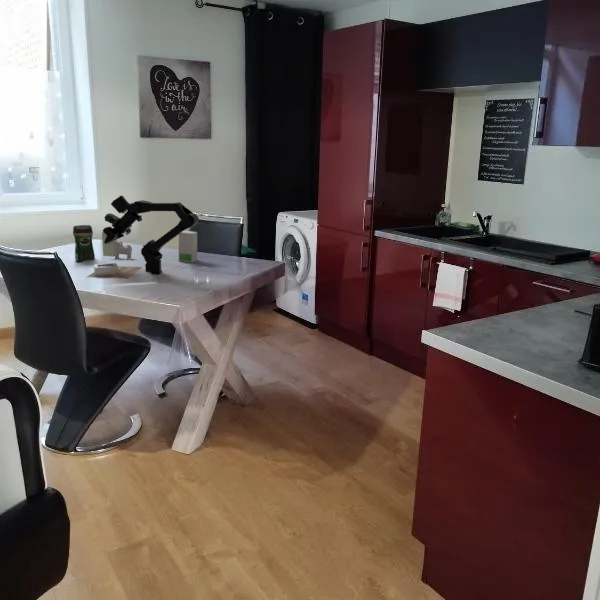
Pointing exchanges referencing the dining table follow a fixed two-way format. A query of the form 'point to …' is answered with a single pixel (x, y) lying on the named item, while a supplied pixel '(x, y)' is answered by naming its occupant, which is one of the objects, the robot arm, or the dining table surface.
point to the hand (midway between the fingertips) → (106, 242)
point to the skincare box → (188, 246)
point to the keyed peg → (109, 247)
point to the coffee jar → (83, 243)
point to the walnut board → (120, 272)
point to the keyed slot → (105, 269)
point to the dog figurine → (123, 250)
